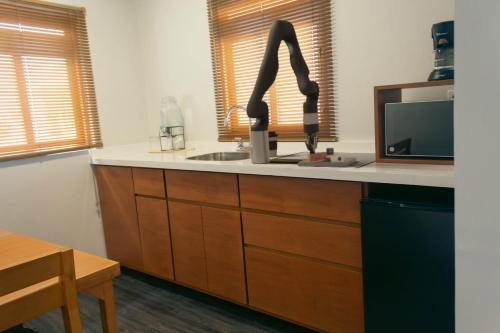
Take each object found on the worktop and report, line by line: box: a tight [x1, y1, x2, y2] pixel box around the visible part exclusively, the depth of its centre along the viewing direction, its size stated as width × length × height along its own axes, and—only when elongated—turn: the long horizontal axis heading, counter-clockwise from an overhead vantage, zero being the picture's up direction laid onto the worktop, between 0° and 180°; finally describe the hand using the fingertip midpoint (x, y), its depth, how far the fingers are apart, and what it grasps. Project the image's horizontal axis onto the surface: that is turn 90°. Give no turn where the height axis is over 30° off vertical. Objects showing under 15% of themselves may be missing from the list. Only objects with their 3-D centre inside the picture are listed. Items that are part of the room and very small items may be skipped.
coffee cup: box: [268, 130, 279, 158], centre depth 238 cm, size 10×10×15 cm
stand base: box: [297, 154, 357, 168], centre depth 194 cm, size 24×17×5 cm
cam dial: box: [307, 147, 340, 162], centre depth 193 cm, size 17×8×5 cm, turn 117°
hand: (312, 158), depth 193 cm, fingers closed
